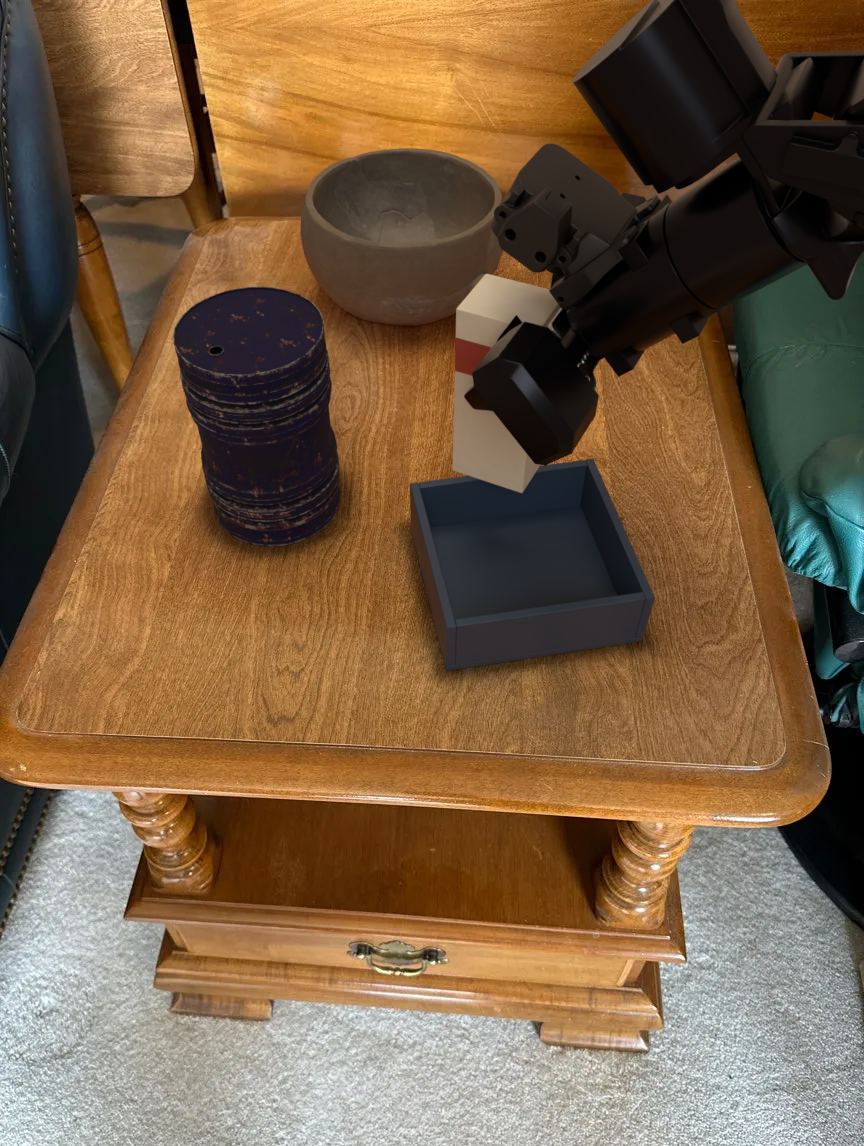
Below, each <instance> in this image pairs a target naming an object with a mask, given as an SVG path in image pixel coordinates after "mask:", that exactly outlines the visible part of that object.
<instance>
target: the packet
mask: <svg viewBox="0 0 864 1146" xmlns="http://www.w3.org/2000/svg"><path fill="white" fill-rule="evenodd" d="M549 290H550V288H545V287H542V286H537V285H534V284H529V283H526V282H522V281H519V280H518V281H517V280H513V279H511V278H510V279H509V278H505V277H502V276H498V275H494V274H493V275H490V274H485V275H484V276H483V278H482V279H481V280H480V281H479V282H478V284H477V285H476V286H475V287H474V288H473V290H472V291H471V292H470V293H469V294H468V295H467V297H466V298H465V299H464V300H463V301H462V303H461V304H460V305H459V306H458V307H457V309H456V312H455V338H454V341H455V342H454V345H455V346H454V385H453V386H454V389H453V391H454V392H453V430H452V431H453V433H452V435H453V437H452V471H453V472H456V473H459V474H463V475H464V476H471V477H474V478H477V479H480V480H483V481H486V482H489V483H492V484H495V485H498V486H501V487H504V488H508V489H511V490H514V491H517V492H520V493H523V491H524V490H525V488H526V487H527V485H528V484H529V482H530V480H531V479H532V477H533V476H534V474H535V473H536V471H537V470H538V468H539V466H541V465H538V464H534V462H533V461H532V460H531V459H530V457H529V456H528V455H527V453H526V452H525V451H524V450H523V448H522V447H521V446H520V445H519V443H518V442H517V441H516V440H515V438H514V437H513V436H512V435H511V433H510V432H509V431H508V430H507V428H506V427H505V426H504V425H503V423H502V422H501V421H500V420H499V418H498V417H497V416H496V415H495V413H494V412H493V411H485V410H475V409H473V408H472V407H471V406H470V404H469V403H468V402H467V401H466V399H465V398H464V395H465V394H466V392H467V391H468V390H469V389H470V388H471V387H472V386H473V385H474V383H473V376H472V372H473V371H474V370H475V368H476V367H477V366H478V365H479V363H480V362H481V361H482V359H483V358H484V357H485V356H486V354H487V353H488V352H489V350H490V349H491V348H492V347H493V345H494V344H495V343H496V342H497V339H498V338H499V336H500V335H501V334H502V333H503V331H504V330H505V329H506V327H507V326H508V325H509V323H510V322H511V321H512V320H513V318H514V317H515V316H516V315H517V316H518V317H519V318H520V320H521V321H522V322H529V323H533V324H537V325H540V326H544V327H548V324H549V323H550V322H551V320H552V319H553V317H554V316H555V315H556V313H557V312H558V311H559V309H560V308H561V307H560V306H559V304H558V303H557V302H556V300H555V299H554V297H553V296H552V295H551V293H550V292H549Z"/></svg>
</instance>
